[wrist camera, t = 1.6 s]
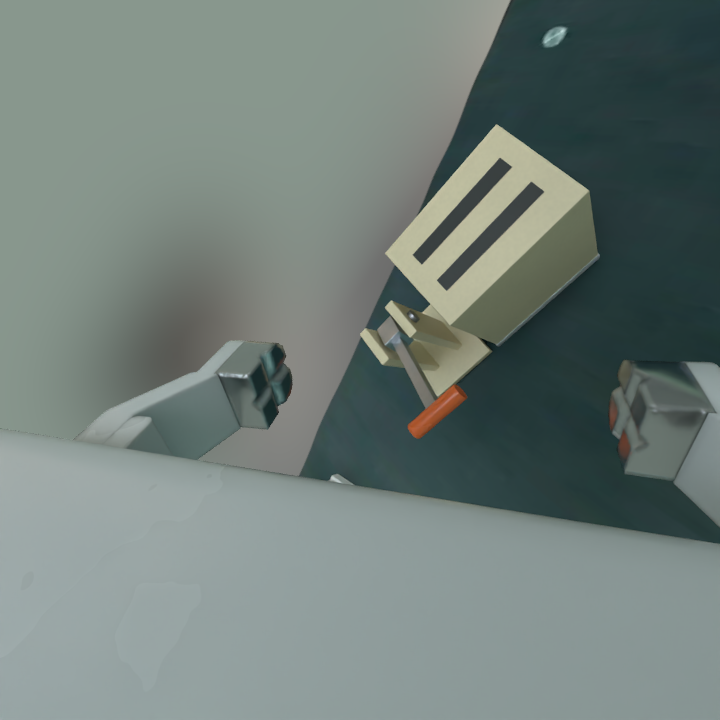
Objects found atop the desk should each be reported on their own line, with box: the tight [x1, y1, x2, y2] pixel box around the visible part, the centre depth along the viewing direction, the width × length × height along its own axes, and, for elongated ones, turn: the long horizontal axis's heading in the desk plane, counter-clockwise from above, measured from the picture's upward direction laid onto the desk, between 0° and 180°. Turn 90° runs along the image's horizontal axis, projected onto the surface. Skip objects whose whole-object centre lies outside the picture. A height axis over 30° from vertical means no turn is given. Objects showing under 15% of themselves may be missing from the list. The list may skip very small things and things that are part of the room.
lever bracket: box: [360, 301, 492, 398], centre depth 46 cm, size 10×9×15 cm
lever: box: [377, 316, 467, 439], centre depth 37 cm, size 13×6×2 cm, turn 40°
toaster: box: [385, 125, 600, 346], centre depth 40 cm, size 10×14×17 cm
